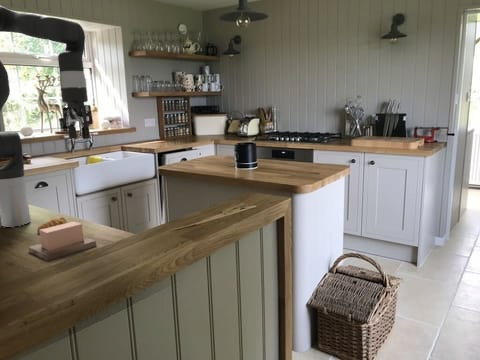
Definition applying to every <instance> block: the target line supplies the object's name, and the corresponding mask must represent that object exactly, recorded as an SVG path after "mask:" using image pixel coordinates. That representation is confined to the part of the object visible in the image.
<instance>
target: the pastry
mask: <svg viewBox="0 0 480 360" xmlns="http://www.w3.org/2000/svg"><path fill="white" fill-rule="evenodd" d="M66 223H69V222H68V221H67V219H66V218H65V217H60V218H56V219H55V218H54V219H51V220H49V221H47V222H45V223H43V224H42V225H40V226H38V227H37V231H36V232H37V233H39V234H40V232H39V230H41V229H45V228H49V227H53V226H57V225H61V224H66Z"/></svg>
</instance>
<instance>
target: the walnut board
mask: <svg viewBox="0 0 480 360" xmlns="http://www.w3.org/2000/svg"><path fill="white" fill-rule="evenodd" d="M83 237H84V241H81V242H77V243H74V244H70V245H67V246H63V247H60V248H56V249H53V250H47V249H45V248H43V247H41V243H37V244H33V245H31V246H27V247H28V252H29V253H30V254H31V255H32V254H33V255H34V256H37V257H39V258H41V259H43V260H45V261H50V260H51V261H52V260H55V259H59V258H61V257H64V256H68V255H71V254H74V253H77V252H80V251H84V250H88V249H91V248H94V247H96V246H97V240H94V239H91V238H88V237H85V236H83Z"/></svg>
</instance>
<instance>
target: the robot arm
mask: <svg viewBox="0 0 480 360" xmlns="http://www.w3.org/2000/svg"><path fill="white" fill-rule="evenodd" d="M0 32H2V33H3V32H15V33H19V34H23V35H25V36H27V37H32V38H36V39H41V40H48V41H51V42H52V41H53V42H55V43H59V44H65V50H64V51H62V52H60V53H59V54H58V55H57V61H58V62H57V63H58V70H59V85H60V93H61V100H62V103H64V104H67V105H66V106H62V107H61V108H62V111H61V112H62V118H63V125H64V126H66V127H67V129H68V138H69V139H70V140H72V139H74V140H75V139H77V138H78V137H77V136H78V135H77V130H76V129H77V128H76V126H77V125H76V124H77V122H78V123H79V124H80V126H81V128H80V129H81V138H82V140H89V139H91V133H90V127H91V125H93V124H94V122H93V113H92V107H91V105H90V104H85V103H87V102H88V100H89V99H88V90H87V82H86V77H85V76H86V75H85V71H84V63H83V57H84V56H83V55H84V51H85V43H86V35H85V31H84V28H83V27H82V25H81V24H80V23H78V22H76V21H73V20H69V19H65V18H61V17H54V16H47V15H43V14H37V13H30V12H20V11H19V12H18V11H14V10H11V9H8V8H6V7H4V6H2V5H0ZM10 91H11V90H10V81H9V74H8V71H7V69H6V67H5V66H4V64H3V62H2V61H1V60H0V112H1V111H2V109H3V108H4V106H5V105H6V103H7V101H8V99H9V96H10ZM22 143H23V142H22V138H21V135H20V134H19V133H18V132H17V131H15V130H11V131H10V130H7V131H0V160H1V159H3V160H4V159H8V162H7V163H5V164H4V165H3V166H1V167H0V221H1V222H0V223H1V227H2V226H5V227H11V228H16V227H15V226H19V227H22V226H21V225H23V226H25V225H24V224H27V223H29V222H30V221H31V222H32V220H31V219H32V218H31V213H30V206H29V197H28V191H27V185H26V177H25V166H24V165H25V164H24V163H25V162H24V157H23V156H24V153H23V144H22ZM29 224H30V223H29ZM27 225H28V224H27ZM5 227H4V228H5Z"/></svg>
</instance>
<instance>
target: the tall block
mask: <svg viewBox="0 0 480 360" xmlns="http://www.w3.org/2000/svg"><path fill="white" fill-rule="evenodd" d="M39 232H40V233H39ZM39 232H38V233H39V237H40V238H39V239H40V244H41V247H43V248H45V249H47V250H53V249H56V248H60V247H63V246H67V245H70V244H74V243H77V242H81V241H84V237H85V236H84V231H83V224H82V223H79V222H77V221H71V222H68V223H66V224H61V225H57V226H53V227H49V228H45V229H41V230H39Z"/></svg>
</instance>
